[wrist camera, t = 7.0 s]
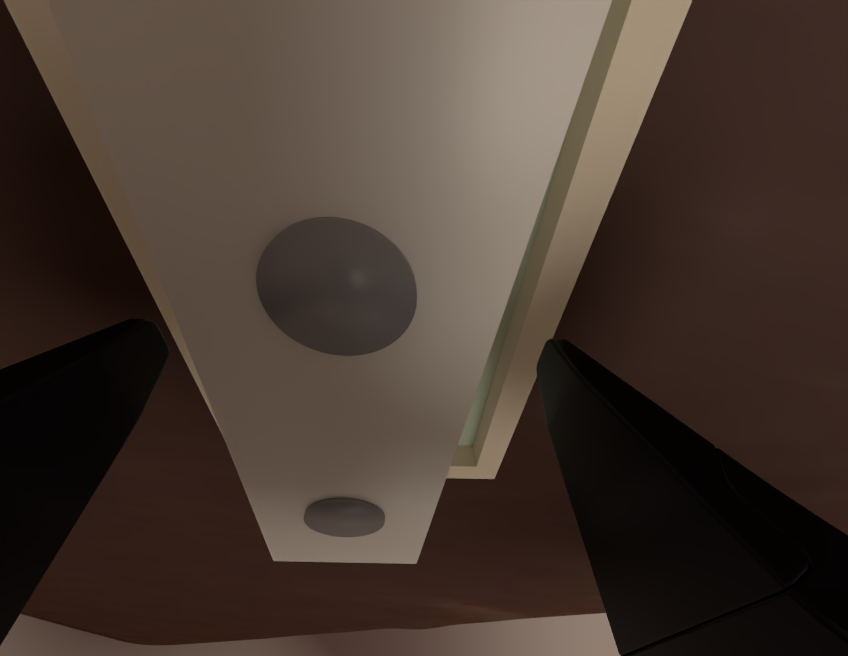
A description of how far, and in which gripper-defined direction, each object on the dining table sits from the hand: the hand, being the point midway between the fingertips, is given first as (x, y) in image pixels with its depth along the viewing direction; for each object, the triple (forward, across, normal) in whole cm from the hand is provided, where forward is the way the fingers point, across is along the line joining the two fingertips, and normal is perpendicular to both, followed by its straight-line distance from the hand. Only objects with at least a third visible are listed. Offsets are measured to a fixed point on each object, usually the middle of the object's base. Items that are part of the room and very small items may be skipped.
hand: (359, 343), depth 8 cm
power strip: (+2, 0, 0) cm, 2 cm away
